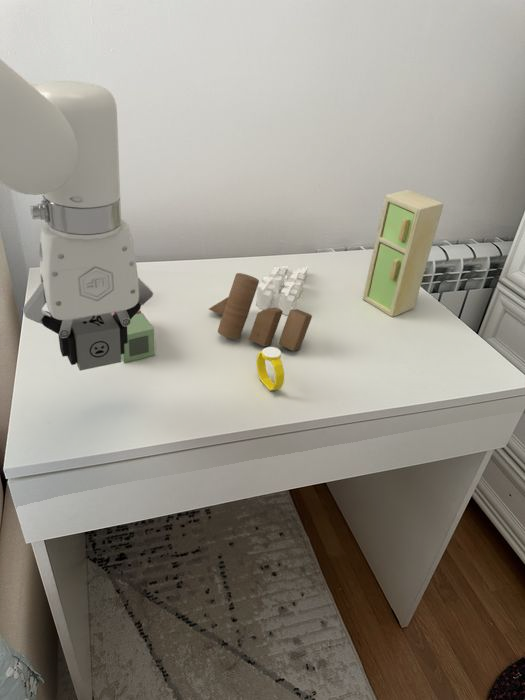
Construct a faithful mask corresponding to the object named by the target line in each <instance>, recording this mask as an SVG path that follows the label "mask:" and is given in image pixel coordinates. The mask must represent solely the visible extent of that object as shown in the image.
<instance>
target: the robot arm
mask: <svg viewBox="0 0 525 700" xmlns="http://www.w3.org/2000/svg"><path fill="white" fill-rule="evenodd" d="M117 109H118V108H117V102H116V99H115V97H114V95H113V94H112V92H111V91H110V90H108V89H107V88H106V87H103V86H101V85H99V84H94V83H90V82H84V81H75V80H53V81H48V82H47V81H46V82H45V83H44V82H43V83H40V84H38V83H37V84H36V83H30V82H28V81H27V80H26V79H25V78H23V77H22V76H21V75H20V74H19V73H18V72H16V71H15V70H14V69H13V68H12V67H11V66H9V65H8V64H7V63H6V62H4V61H3V60H2V59H1V58H0V184H1V185H3V186H4V187H5V188H8V189H10V190H11V191H14V192H17V193H20V194H24V195H31V196H38V195H39V196H40V195H42V200H41V203H37V205H29V207H30V215H31V218H32V220H40V221H44V222H43V223H42V224H41V229H40V235H39V237H40V238H39V273H40V274H39V275H40V277H39V278H40V284H39V286H38V287H37V288H36V290H35V291H34V292H33V294H32V295H31V297H30V298H29V299H28V300H27V301H26V303H25V305H24V306H23V307H22V312H23V314H24V316H25V318H26V319H29V320H31V321H33V322H35V323H38V324H41V325H42V326H43V327H45V328H47V329H48V330H50V331H51V332H54V333H55V334H57V336H58V344H59V351H60V353H61V356H62V357H63V358H64V357H67V359H68V361H69V363H70V365H71V366H74V365H77V353H76V343H75V337H74V335H73V333H72V331H71V327H72V323H73V319H78V318H84V317H90V316H96V315H101V314H107V313H112V312H114V315H113V318H114V320H115V321H116V323H117V325H118V326H119V328H120V349H121V354H124V353H125V350H124V344H127V343H128V337H127V326H128V325H129V324H130V323H131V318H132V317H133V316H134V315H135V314H136V313H137V312H138V311H139V310H141V308H142V306H143V305H145V304H146V303H147V302H148V301H149V300H151V298H153V296H154V292H153V291H152V290H151V288H150V287H149V286H148V285H147V284H146V283H144V281H143V280H141V278H140V277H139V275H138V266H137V260H136V258H137V257H136V251H135V246H134V241H133V235H132V231H131V228H130V224H128V223H127V222H126V221H125V220H123V218H122V208H121V207H122V206H121V205H122V204H121V180H120V179H121V178H120V159H119V158H120V155H119V154H120V153H119V130H118V129H119V127H118V125H119V124H118V110H117ZM45 305H46V306H47V307H46V308H47V310H48V311H46V310H43V308H44V306H45Z"/></svg>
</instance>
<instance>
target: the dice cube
mask: <svg viewBox="0 0 525 700" xmlns="http://www.w3.org/2000/svg"><path fill="white" fill-rule="evenodd" d="M71 331H72V333H73V335H74V337H75V343H76V353H77V363H76V366H77V368H78V370H79V371H86V370H90V369H94V368H98V367H99V368H100V367H105V366H110V365H115V364H120V363H122V359H121V349H120V328H119V326H118V325H117V323H116V321H115V320H114V318H113V316H112V314H111V313H107V314H101V315H96V316H90V317H84V318H78V319H73V323H72V327H71Z"/></svg>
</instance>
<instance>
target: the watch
mask: <svg viewBox="0 0 525 700" xmlns="http://www.w3.org/2000/svg"><path fill="white" fill-rule="evenodd" d="M281 357H282V351H281V350H280V349H279V348H278V347H274V346H267V347H264V348H263V349H262V350H260V351H259V353H258V354H257V356H256V371H257V375H258V377H259V380H260V381H261V382H262V383H263V385H264V386H265V387H266V388H267V389H268V391H270V392H271V391H274V390H278V389H281V388H282V387H283V386H284V382H285V371H284V365H283V362H282V360H281ZM266 361H268V362H270V363H271V365H272V366H273V372H274V377H275V378H274V381H272V379H271V378H270V377H269V374H268V371H267V367H266Z"/></svg>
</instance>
